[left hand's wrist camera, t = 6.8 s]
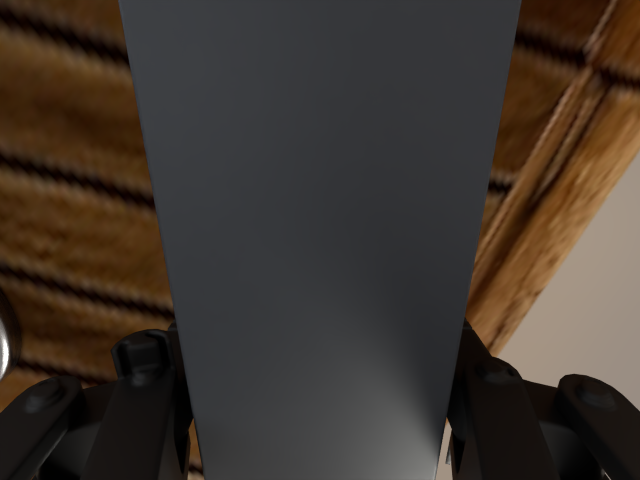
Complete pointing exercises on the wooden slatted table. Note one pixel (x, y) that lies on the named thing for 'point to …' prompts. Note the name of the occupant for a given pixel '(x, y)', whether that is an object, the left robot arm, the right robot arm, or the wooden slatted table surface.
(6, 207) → the wooden slatted table surface
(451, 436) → the left robot arm
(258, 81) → the bar
